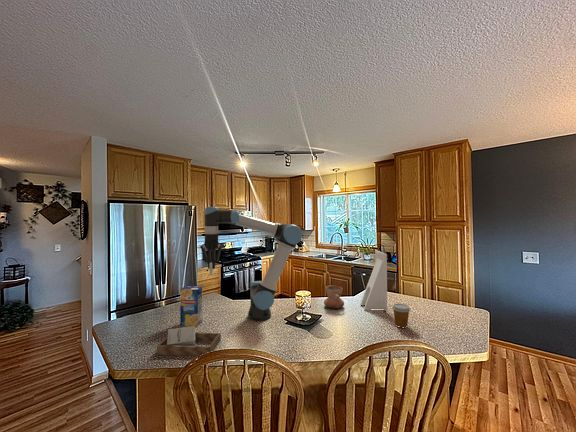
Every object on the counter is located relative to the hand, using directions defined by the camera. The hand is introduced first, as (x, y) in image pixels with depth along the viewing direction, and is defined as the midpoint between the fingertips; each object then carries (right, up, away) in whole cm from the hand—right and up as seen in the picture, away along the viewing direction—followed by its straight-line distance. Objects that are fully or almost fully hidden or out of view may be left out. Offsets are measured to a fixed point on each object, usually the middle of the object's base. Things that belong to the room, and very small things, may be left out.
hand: (211, 274), depth 147 cm
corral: (-5, -32, -19) cm, 38 cm away
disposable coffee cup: (+112, -32, +4) cm, 116 cm away
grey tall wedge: (+104, -32, +36) cm, 115 cm away
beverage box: (-15, -33, +10) cm, 37 cm away
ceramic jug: (+77, -33, +38) cm, 92 cm away
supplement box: (-3, -27, -17) cm, 32 cm away
